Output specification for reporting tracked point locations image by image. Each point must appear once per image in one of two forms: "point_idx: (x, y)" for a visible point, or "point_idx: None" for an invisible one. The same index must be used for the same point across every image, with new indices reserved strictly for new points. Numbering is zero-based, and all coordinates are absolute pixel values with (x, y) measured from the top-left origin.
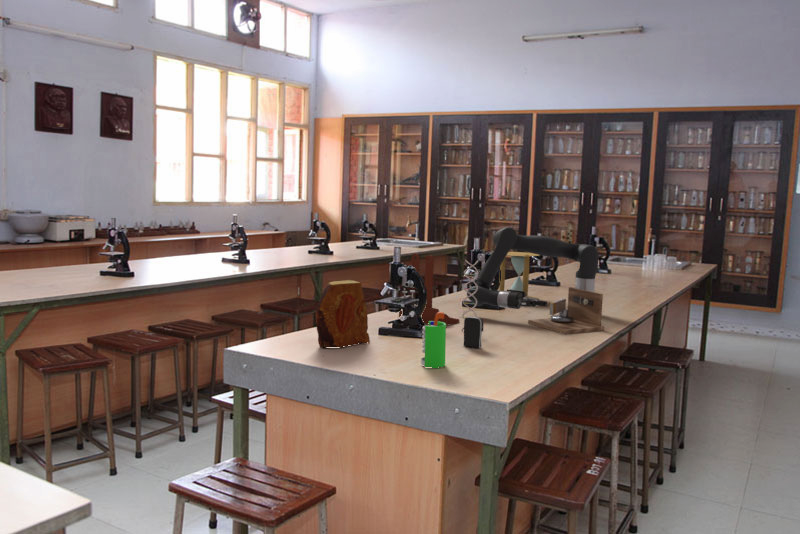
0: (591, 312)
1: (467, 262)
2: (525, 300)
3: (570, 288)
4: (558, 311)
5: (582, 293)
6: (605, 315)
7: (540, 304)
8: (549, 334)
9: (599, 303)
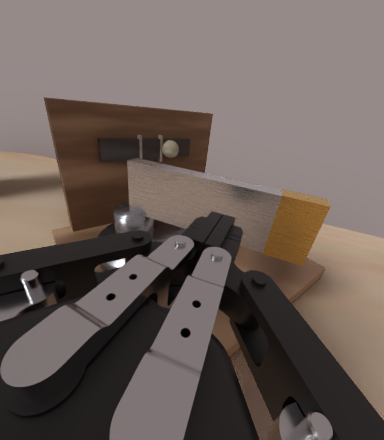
0: None
1: None
2: (320, 403)
3: (62, 103)
4: None
5: (142, 120)
6: (14, 177)
7: (234, 259)
8: (380, 327)
9: (207, 144)
